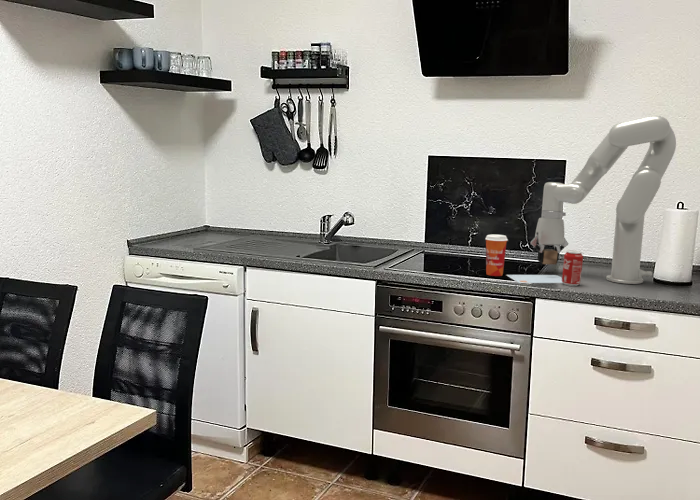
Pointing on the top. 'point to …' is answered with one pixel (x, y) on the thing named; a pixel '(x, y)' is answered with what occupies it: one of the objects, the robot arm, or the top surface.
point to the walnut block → (549, 256)
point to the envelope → (536, 278)
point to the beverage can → (572, 268)
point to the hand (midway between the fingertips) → (547, 262)
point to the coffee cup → (495, 254)
